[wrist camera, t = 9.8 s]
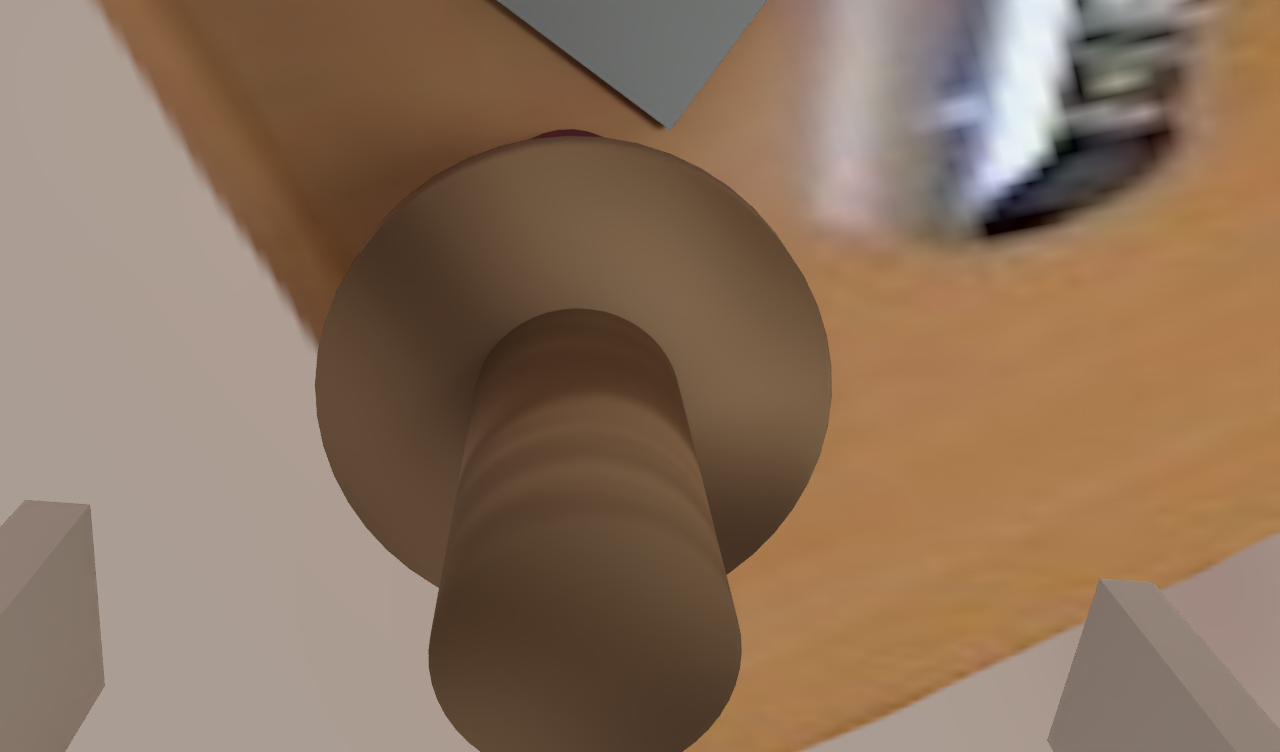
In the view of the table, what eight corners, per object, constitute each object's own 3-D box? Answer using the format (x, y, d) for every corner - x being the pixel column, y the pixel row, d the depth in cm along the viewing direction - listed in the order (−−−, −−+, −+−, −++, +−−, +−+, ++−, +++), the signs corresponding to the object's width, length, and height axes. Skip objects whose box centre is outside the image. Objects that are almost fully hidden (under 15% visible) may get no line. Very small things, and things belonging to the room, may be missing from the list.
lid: (512, 24, 20) (477, 104, 11) (917, 328, 23) (1130, 572, 14) (234, 435, 23) (38, 746, 14) (626, 662, 25) (660, 1036, 17)
